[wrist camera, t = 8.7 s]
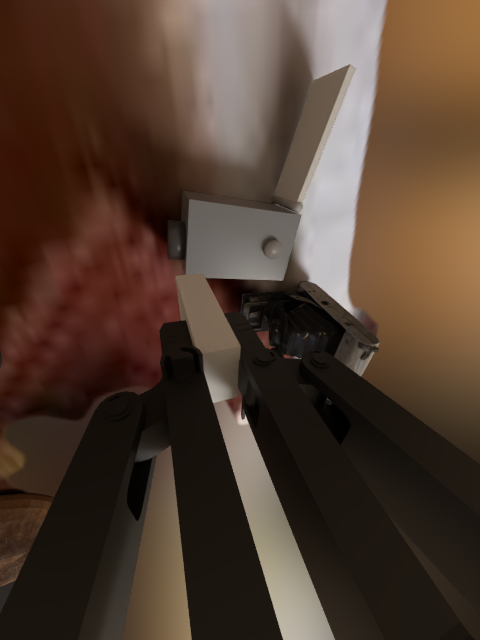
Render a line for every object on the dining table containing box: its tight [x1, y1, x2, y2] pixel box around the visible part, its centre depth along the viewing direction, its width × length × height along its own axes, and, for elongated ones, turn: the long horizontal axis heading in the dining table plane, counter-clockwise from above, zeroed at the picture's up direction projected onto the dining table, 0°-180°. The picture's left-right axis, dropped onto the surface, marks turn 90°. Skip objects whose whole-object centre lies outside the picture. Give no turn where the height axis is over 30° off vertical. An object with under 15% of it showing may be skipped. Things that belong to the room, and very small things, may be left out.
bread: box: [0, 493, 54, 586], centre depth 56 cm, size 26×27×13 cm
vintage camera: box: [240, 281, 380, 376], centre depth 39 cm, size 10×15×20 cm, turn 83°
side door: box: [272, 64, 356, 212], centre depth 30 cm, size 14×2×7 cm, turn 161°
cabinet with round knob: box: [167, 190, 301, 281], centre depth 33 cm, size 16×9×9 cm, turn 79°
